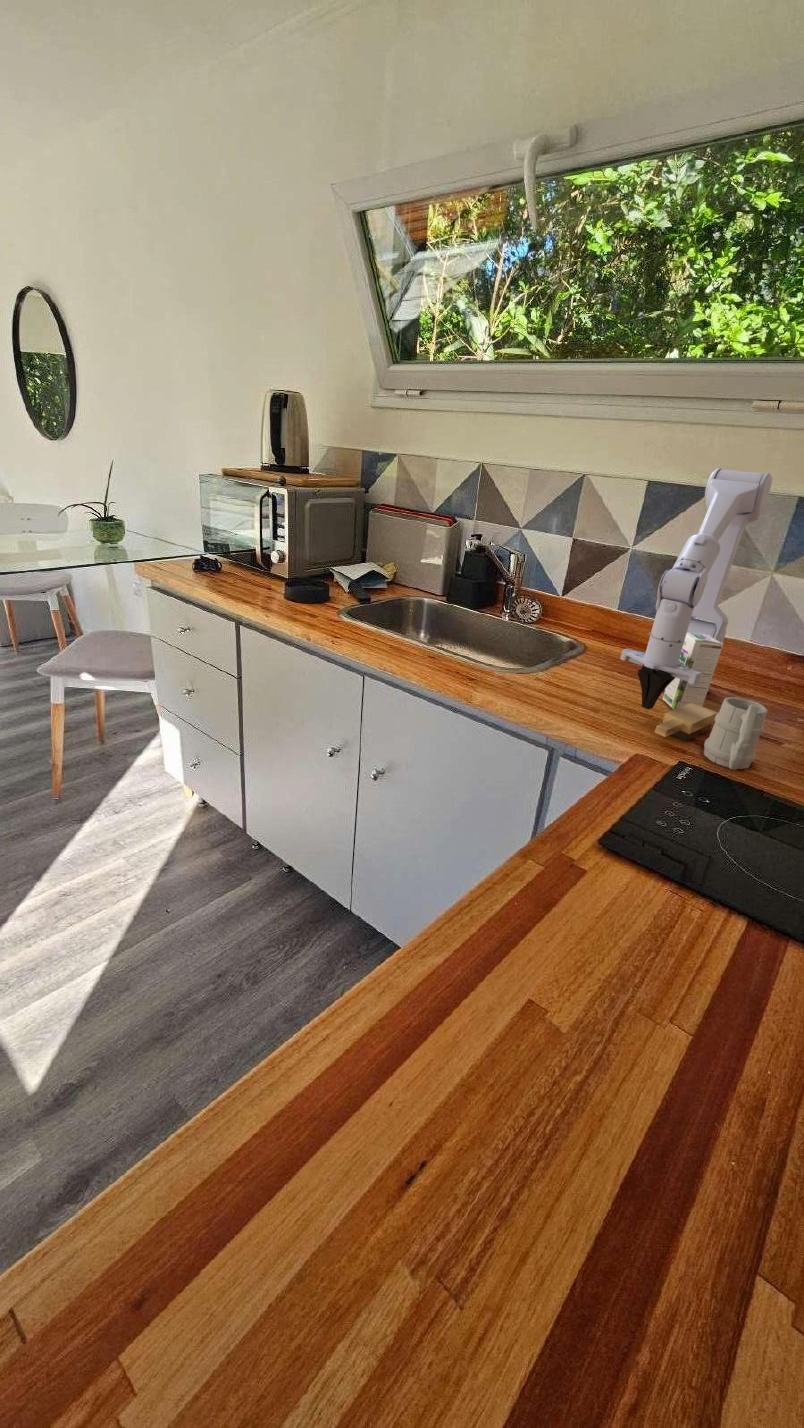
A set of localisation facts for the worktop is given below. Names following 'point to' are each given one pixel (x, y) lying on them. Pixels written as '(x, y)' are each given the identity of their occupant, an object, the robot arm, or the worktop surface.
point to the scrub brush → (686, 722)
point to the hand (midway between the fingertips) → (647, 707)
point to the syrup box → (700, 657)
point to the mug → (735, 733)
